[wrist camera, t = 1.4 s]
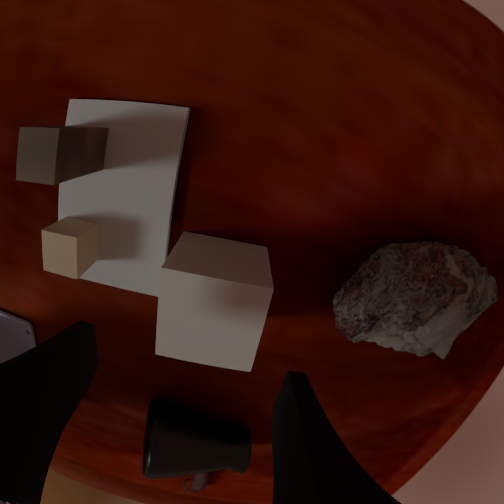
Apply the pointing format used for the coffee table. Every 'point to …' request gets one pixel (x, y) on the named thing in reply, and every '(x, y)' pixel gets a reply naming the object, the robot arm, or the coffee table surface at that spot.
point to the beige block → (213, 301)
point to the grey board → (120, 197)
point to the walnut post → (60, 153)
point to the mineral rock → (414, 297)
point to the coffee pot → (191, 445)
